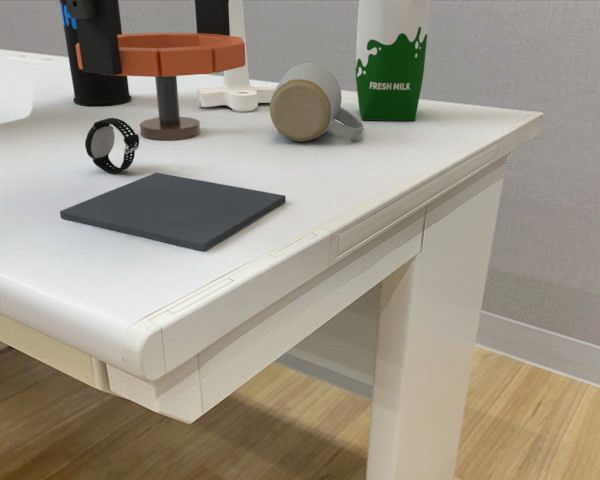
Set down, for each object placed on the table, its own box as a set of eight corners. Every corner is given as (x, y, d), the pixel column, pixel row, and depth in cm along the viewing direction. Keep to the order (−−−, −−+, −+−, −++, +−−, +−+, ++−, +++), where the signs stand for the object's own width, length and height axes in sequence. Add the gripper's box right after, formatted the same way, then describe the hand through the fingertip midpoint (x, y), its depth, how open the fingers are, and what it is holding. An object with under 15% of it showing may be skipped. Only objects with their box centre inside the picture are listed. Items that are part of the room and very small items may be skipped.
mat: (60, 218, 51) (59, 211, 50) (156, 178, 60) (156, 172, 60) (204, 251, 45) (203, 243, 45) (285, 202, 54) (285, 195, 54)
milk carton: (414, 108, 89) (428, -54, 80) (423, 123, 81) (440, -56, 72) (351, 107, 90) (358, -55, 80) (354, 122, 82) (363, -57, 72)
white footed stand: (269, 99, 94) (267, -54, 85) (285, 109, 88) (285, -56, 79) (195, 104, 91) (184, -56, 82) (207, 114, 85) (196, -57, 75)
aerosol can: (130, 94, 98) (113, -55, 88) (132, 104, 91) (114, -56, 81) (74, 96, 96) (51, -56, 86) (72, 107, 89) (45, -57, 79)
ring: (42, 68, 45) (38, 44, 44) (154, 50, 54) (152, 29, 54) (177, 82, 40) (175, 55, 39) (274, 59, 50) (274, 37, 49)
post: (128, 135, 75) (116, 35, 69) (166, 124, 80) (157, 29, 75) (176, 143, 72) (167, 38, 67) (211, 130, 77) (206, 32, 72)
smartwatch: (120, 162, 65) (113, 112, 62) (147, 173, 61) (141, 121, 59) (82, 170, 62) (74, 118, 60) (108, 182, 59) (100, 128, 56)
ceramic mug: (266, 143, 72) (266, 71, 68) (279, 126, 79) (279, 61, 75) (360, 148, 70) (365, 76, 67) (364, 131, 78) (369, 65, 74)
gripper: (-4, -455, 26) (80, 91, 36) (285, -277, 45) (287, 47, 55) (-117, -411, 29) (-10, 81, 39) (199, -262, 48) (216, 42, 58)
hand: (164, 61), depth 47 cm, fingers closed on ring, 12 cm apart
